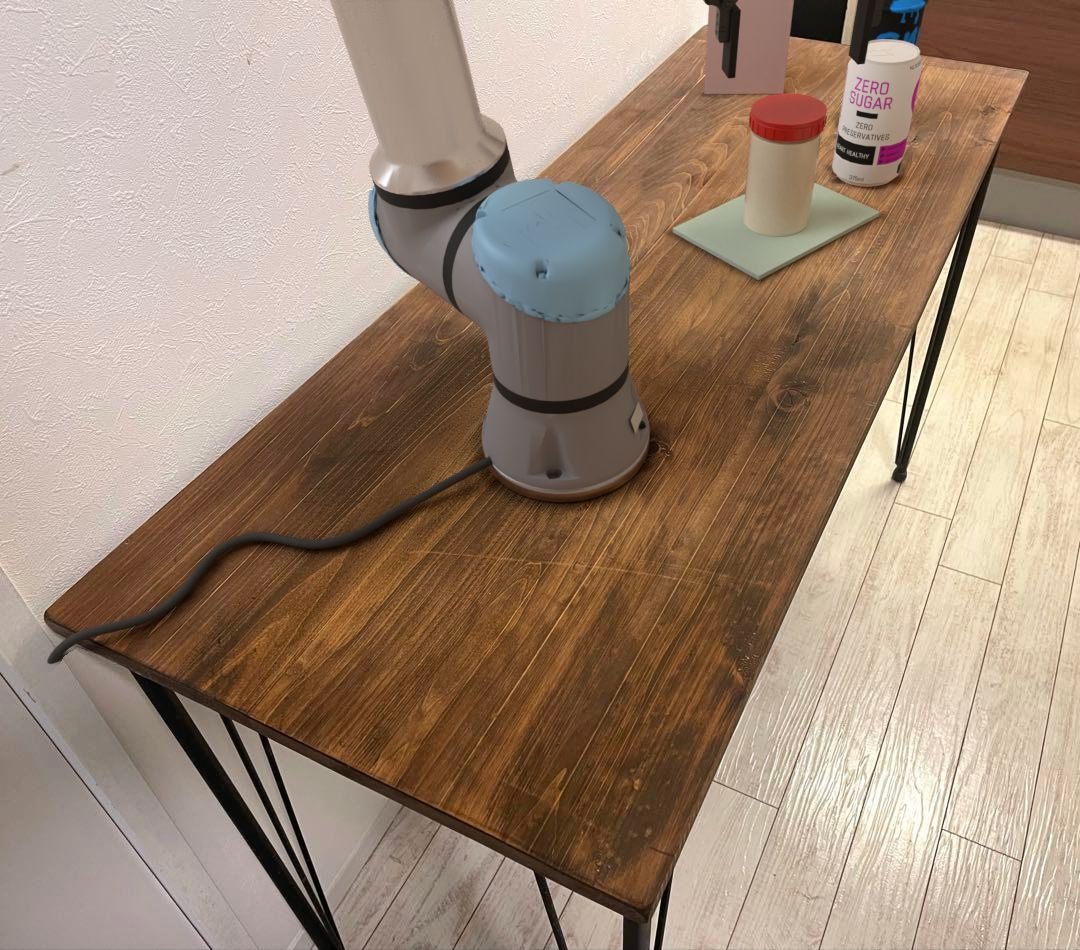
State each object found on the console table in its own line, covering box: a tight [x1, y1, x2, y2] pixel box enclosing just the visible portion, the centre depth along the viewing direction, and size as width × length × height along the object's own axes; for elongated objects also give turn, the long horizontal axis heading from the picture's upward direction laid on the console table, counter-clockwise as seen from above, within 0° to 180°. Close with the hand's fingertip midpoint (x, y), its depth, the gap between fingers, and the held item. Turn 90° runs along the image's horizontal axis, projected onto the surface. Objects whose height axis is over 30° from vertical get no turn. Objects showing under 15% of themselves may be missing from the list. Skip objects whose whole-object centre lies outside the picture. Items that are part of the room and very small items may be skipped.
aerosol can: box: [869, 0, 929, 47], centre depth 118 cm, size 8×8×20 cm
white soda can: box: [831, 39, 924, 188], centre depth 110 cm, size 8×8×15 cm
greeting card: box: [703, 0, 795, 95], centre depth 130 cm, size 11×7×15 cm, turn 46°
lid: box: [748, 92, 828, 142], centre depth 99 cm, size 8×8×2 cm
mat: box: [672, 182, 881, 281], centre depth 108 cm, size 20×14×1 cm
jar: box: [743, 129, 823, 236], centre depth 104 cm, size 8×8×12 cm
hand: (792, 66), depth 95 cm, fingers open, 13 cm apart
